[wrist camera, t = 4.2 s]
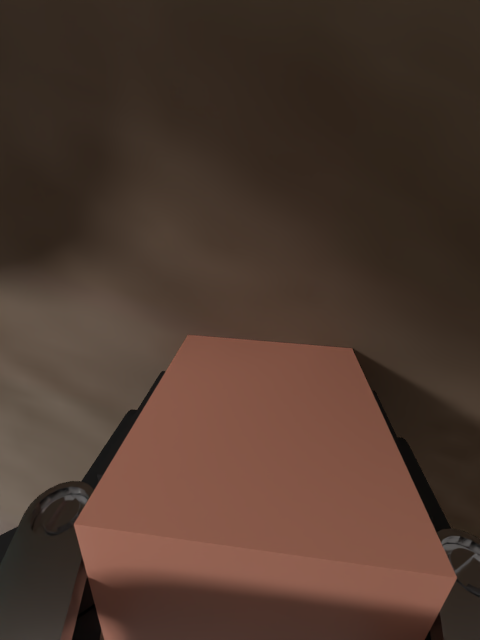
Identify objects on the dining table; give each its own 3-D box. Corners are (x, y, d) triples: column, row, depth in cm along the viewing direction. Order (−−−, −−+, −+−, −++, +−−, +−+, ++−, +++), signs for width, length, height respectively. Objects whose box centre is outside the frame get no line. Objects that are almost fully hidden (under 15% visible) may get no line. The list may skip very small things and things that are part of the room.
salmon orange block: (187, 334, 10) (73, 524, 4) (351, 348, 9) (456, 577, 4) (192, 454, 12) (116, 688, 6) (327, 470, 11) (373, 736, 6)
